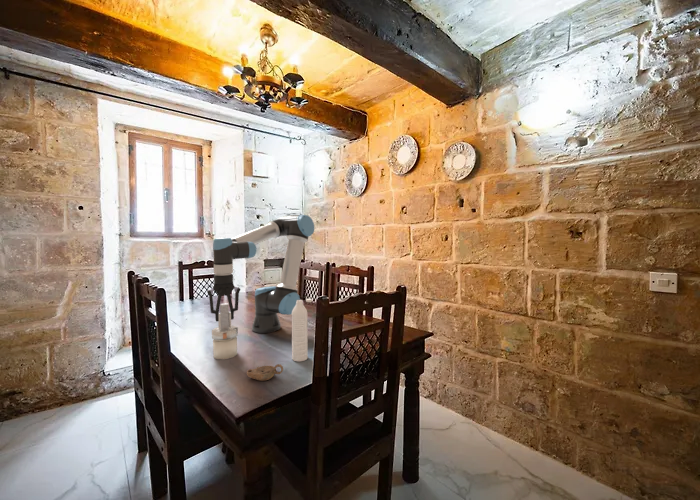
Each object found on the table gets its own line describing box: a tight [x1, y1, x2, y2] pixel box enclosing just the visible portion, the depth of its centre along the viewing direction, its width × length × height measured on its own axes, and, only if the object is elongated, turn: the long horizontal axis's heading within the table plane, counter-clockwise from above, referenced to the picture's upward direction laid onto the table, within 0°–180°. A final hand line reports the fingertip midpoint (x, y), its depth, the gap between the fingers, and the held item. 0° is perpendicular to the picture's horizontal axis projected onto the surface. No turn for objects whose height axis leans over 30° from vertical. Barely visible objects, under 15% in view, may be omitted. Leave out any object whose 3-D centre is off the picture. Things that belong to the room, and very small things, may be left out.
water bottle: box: [291, 298, 313, 363], centre depth 129 cm, size 9×6×25 cm
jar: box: [212, 336, 238, 360], centre depth 133 cm, size 10×10×8 cm
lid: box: [211, 302, 239, 340], centre depth 132 cm, size 12×10×14 cm
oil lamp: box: [246, 363, 284, 382], centre depth 113 cm, size 13×8×5 cm, turn 89°
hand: (224, 327), depth 133 cm, fingers closed on lid, 3 cm apart
